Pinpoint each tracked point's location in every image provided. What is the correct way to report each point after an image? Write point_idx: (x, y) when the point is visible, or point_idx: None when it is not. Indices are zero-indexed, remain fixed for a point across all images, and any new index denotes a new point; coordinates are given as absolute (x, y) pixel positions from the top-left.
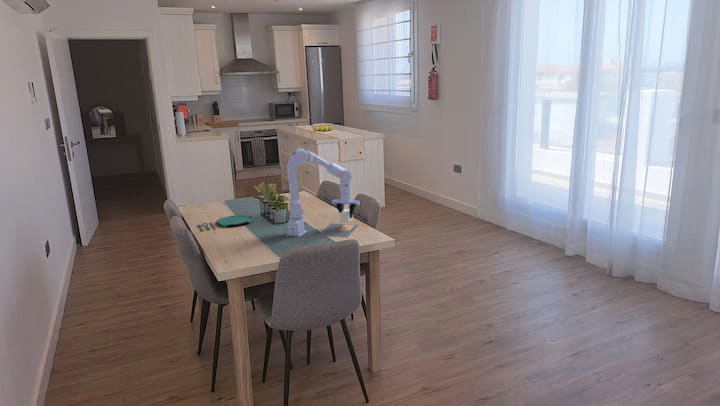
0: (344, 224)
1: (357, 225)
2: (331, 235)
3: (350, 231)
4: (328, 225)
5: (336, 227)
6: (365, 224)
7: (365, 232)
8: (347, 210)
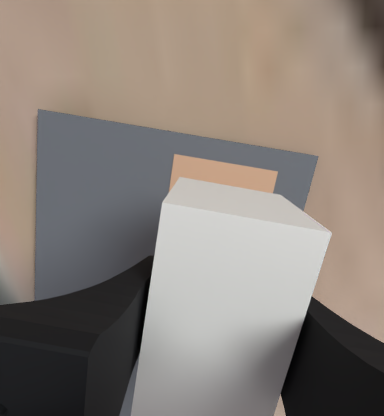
0: (177, 150)
1: (304, 180)
2: (127, 412)
3: None
4: (37, 183)
5: (122, 241)
6: (381, 106)
7: (365, 330)
8: (231, 293)
